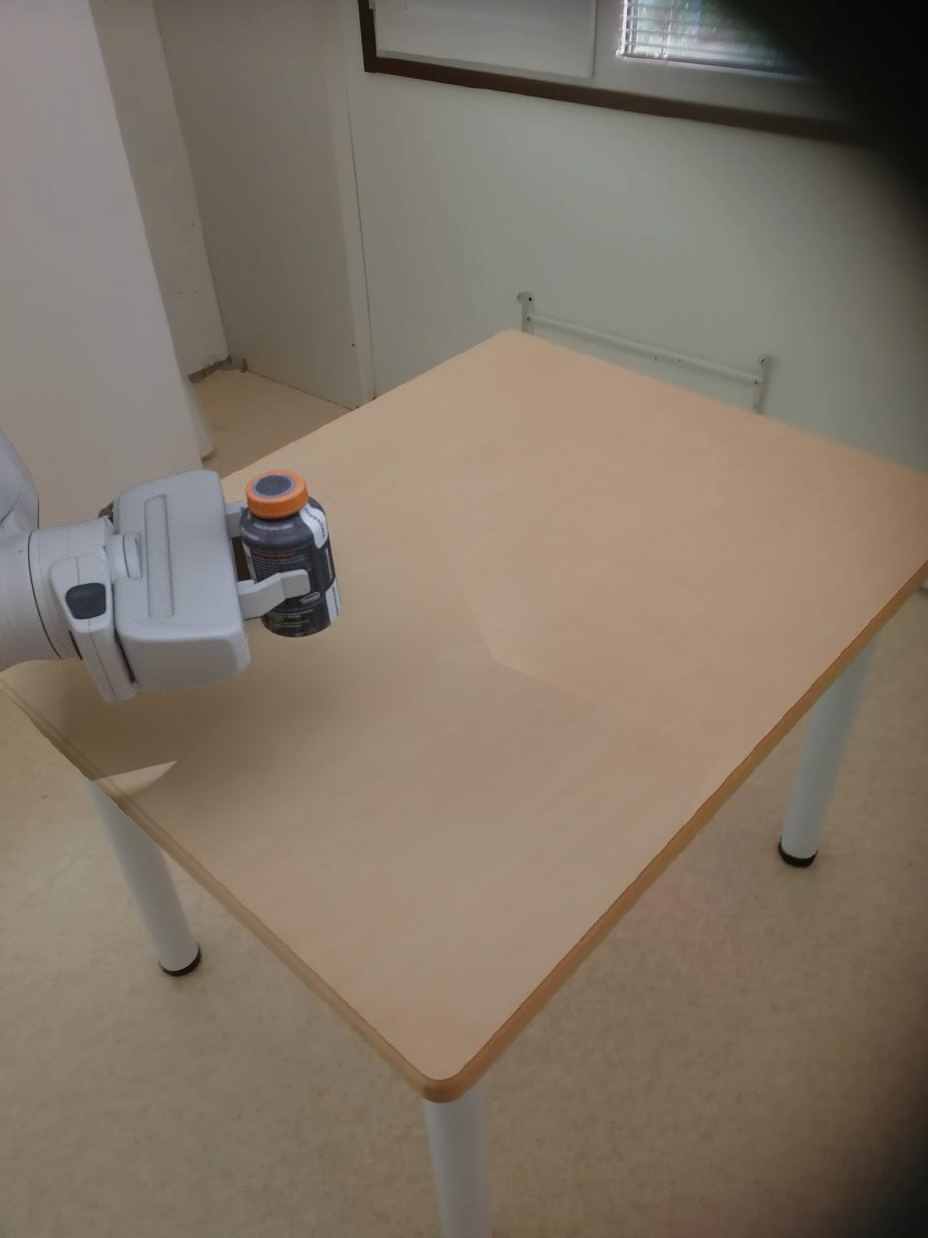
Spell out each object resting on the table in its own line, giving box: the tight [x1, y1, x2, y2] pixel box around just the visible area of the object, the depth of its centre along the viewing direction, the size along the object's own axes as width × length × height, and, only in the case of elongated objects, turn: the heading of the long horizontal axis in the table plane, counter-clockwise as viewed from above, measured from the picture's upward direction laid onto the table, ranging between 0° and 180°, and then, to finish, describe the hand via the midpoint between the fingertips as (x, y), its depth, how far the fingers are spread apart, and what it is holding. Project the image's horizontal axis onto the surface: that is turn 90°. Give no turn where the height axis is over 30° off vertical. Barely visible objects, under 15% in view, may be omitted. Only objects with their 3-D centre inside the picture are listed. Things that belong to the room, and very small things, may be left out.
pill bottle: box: [239, 469, 342, 639], centre depth 67 cm, size 6×6×11 cm
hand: (300, 546), depth 67 cm, fingers closed on pill bottle, 6 cm apart
